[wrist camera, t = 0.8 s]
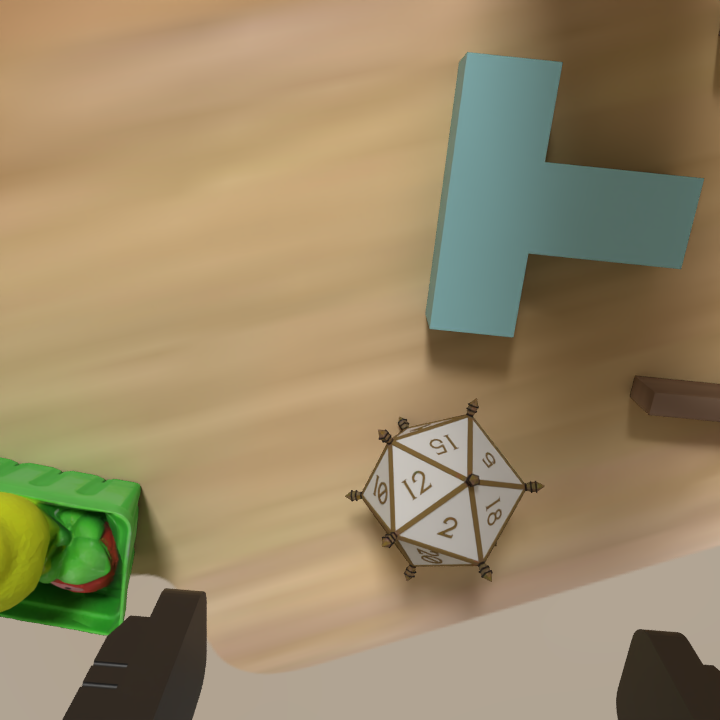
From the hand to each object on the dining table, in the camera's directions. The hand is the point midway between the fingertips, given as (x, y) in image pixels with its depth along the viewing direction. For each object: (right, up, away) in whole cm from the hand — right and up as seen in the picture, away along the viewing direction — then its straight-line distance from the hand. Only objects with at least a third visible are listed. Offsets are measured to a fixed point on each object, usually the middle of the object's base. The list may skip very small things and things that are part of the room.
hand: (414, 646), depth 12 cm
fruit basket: (-18, -3, +25) cm, 31 cm away
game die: (+3, 0, +24) cm, 24 cm away
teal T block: (+8, +13, +19) cm, 25 cm away
